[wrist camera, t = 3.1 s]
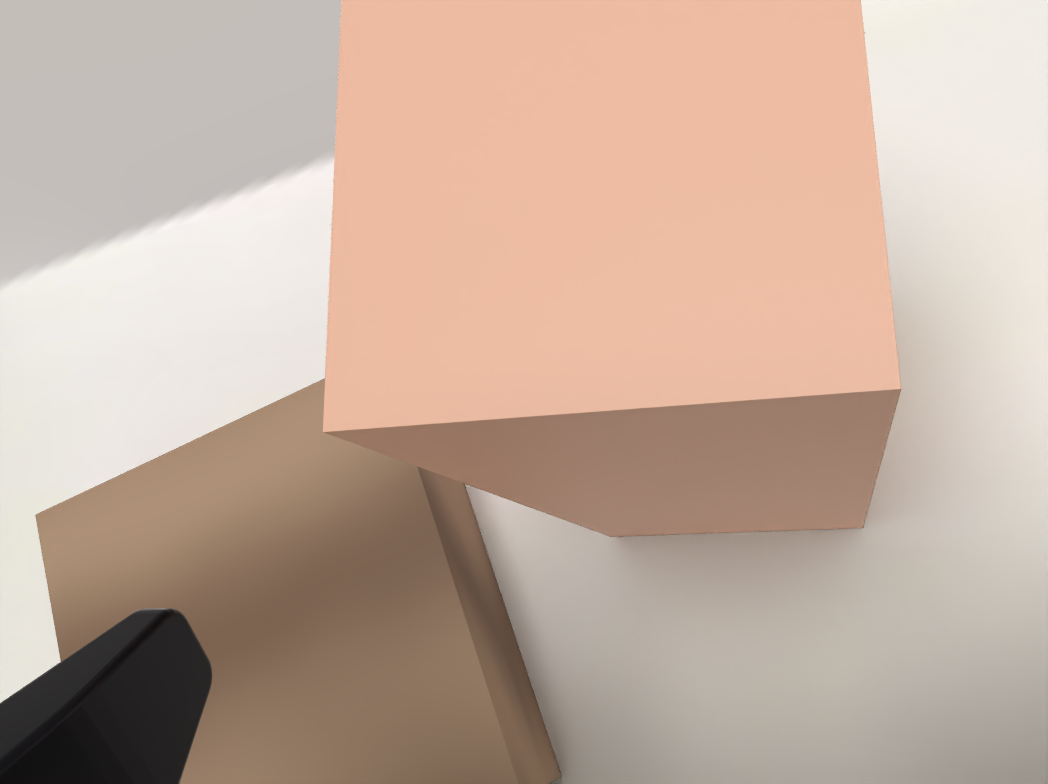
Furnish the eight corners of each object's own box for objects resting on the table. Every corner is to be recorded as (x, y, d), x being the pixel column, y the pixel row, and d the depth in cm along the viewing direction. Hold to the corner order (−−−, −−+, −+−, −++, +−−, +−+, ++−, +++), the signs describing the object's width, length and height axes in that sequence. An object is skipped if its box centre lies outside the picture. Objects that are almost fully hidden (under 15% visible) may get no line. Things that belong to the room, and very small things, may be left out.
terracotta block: (862, 528, 18) (901, 388, 7) (610, 536, 20) (322, 431, 9) (840, 285, 20) (844, -155, 8) (604, 310, 21) (343, -36, 10)
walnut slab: (567, 772, 19) (522, 798, 17) (204, 901, 21) (109, 943, 18) (436, 385, 22) (380, 352, 20) (127, 526, 24) (34, 514, 21)
